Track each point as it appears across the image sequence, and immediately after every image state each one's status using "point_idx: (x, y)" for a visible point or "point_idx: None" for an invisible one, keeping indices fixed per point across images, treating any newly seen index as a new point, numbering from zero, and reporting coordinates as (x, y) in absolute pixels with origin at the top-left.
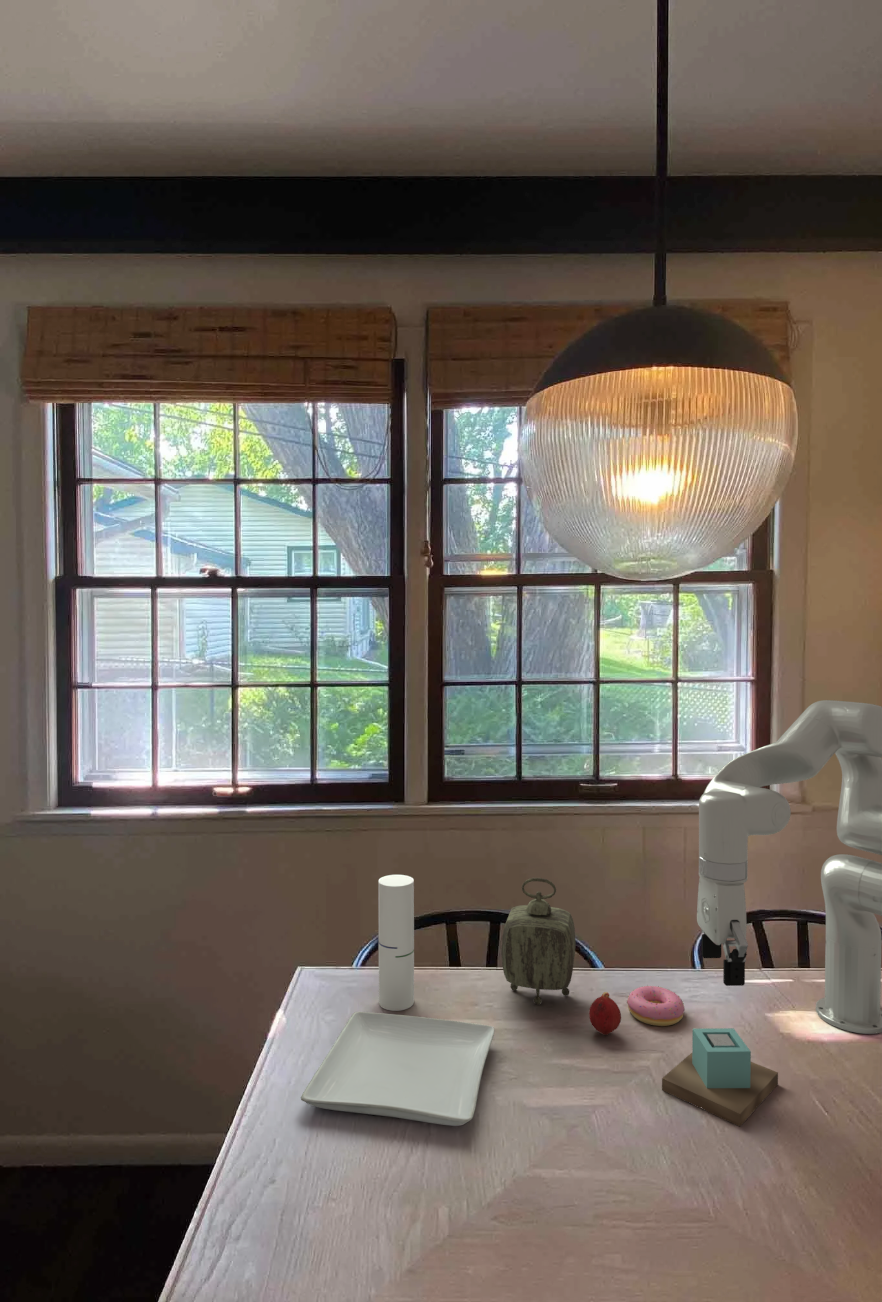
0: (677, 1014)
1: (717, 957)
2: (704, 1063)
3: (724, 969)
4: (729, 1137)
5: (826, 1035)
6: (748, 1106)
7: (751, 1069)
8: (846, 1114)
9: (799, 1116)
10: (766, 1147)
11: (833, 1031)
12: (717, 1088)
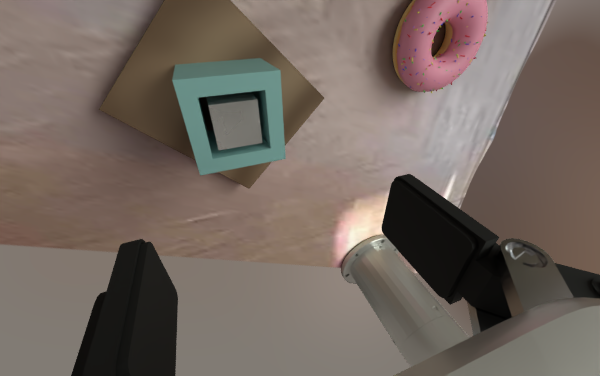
0: (402, 72)
1: (384, 222)
2: (191, 70)
3: (100, 319)
4: (56, 73)
5: (344, 237)
6: (140, 130)
7: None
8: (194, 238)
9: (173, 192)
10: (56, 133)
11: (350, 243)
12: None
